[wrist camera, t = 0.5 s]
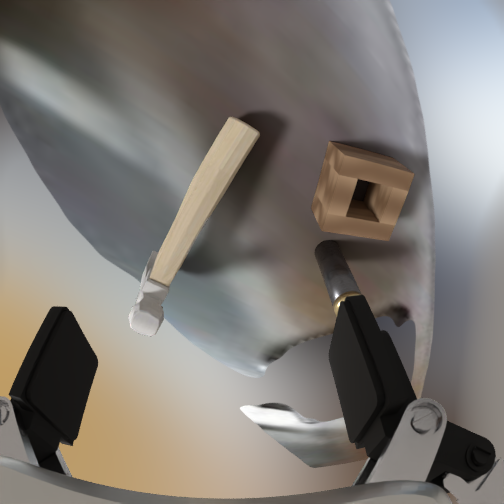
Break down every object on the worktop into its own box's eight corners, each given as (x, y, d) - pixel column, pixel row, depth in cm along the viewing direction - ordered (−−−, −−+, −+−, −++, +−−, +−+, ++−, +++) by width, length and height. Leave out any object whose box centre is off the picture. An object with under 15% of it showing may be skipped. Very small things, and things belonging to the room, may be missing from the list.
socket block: (329, 141, 41) (344, 155, 35) (392, 157, 42) (414, 174, 36) (311, 208, 47) (321, 231, 41) (371, 218, 48) (388, 240, 42)
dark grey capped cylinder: (318, 238, 50) (341, 296, 38) (342, 241, 51) (370, 297, 39) (311, 260, 52) (330, 319, 41) (334, 262, 53) (358, 320, 42)
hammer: (237, 112, 29) (123, 329, 37) (274, 135, 31) (155, 342, 39) (224, 117, 43) (140, 274, 51) (250, 132, 45) (163, 285, 53)
